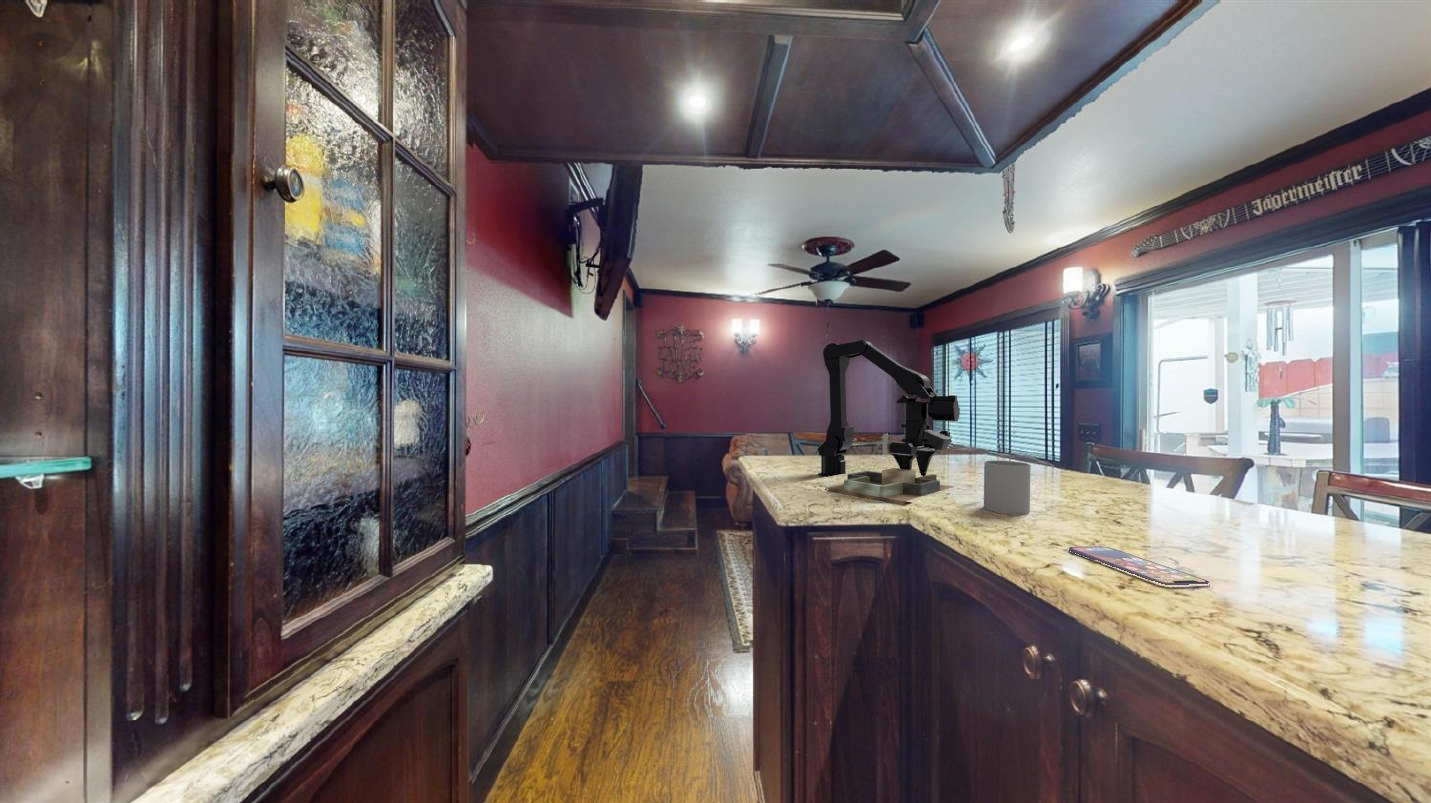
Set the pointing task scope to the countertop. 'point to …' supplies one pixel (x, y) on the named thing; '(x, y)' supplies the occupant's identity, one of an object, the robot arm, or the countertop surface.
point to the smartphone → (1138, 566)
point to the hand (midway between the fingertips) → (915, 477)
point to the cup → (1007, 487)
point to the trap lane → (887, 487)
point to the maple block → (898, 475)
